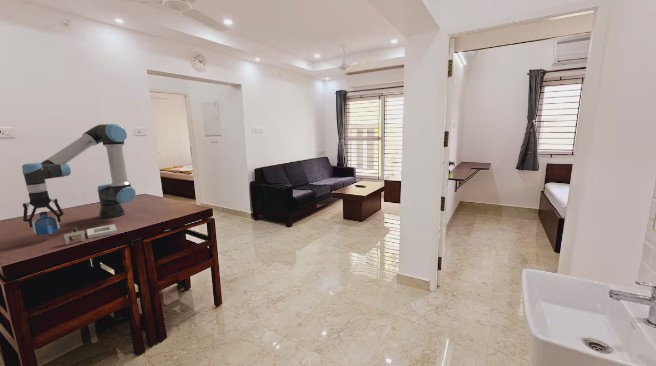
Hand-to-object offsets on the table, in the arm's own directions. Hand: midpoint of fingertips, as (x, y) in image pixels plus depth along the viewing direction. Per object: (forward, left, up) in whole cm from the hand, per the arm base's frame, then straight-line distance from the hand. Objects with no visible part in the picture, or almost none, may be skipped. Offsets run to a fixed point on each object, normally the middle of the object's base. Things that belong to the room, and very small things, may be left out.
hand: (47, 229), depth 160 cm
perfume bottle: (0, 0, -2) cm, 2 cm away
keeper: (+17, +11, -5) cm, 21 cm away
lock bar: (+7, +11, -5) cm, 15 cm away
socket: (+8, +23, -5) cm, 25 cm away
